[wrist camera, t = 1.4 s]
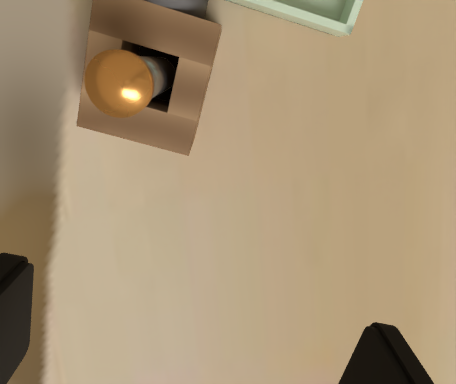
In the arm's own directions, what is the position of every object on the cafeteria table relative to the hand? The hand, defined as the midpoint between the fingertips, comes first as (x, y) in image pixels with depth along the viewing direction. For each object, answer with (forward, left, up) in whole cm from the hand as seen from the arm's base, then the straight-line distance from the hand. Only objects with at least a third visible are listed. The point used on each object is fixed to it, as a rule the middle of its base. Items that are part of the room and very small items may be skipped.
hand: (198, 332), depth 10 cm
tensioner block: (-6, -6, -26) cm, 27 cm away
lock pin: (-4, -6, -26) cm, 27 cm away
